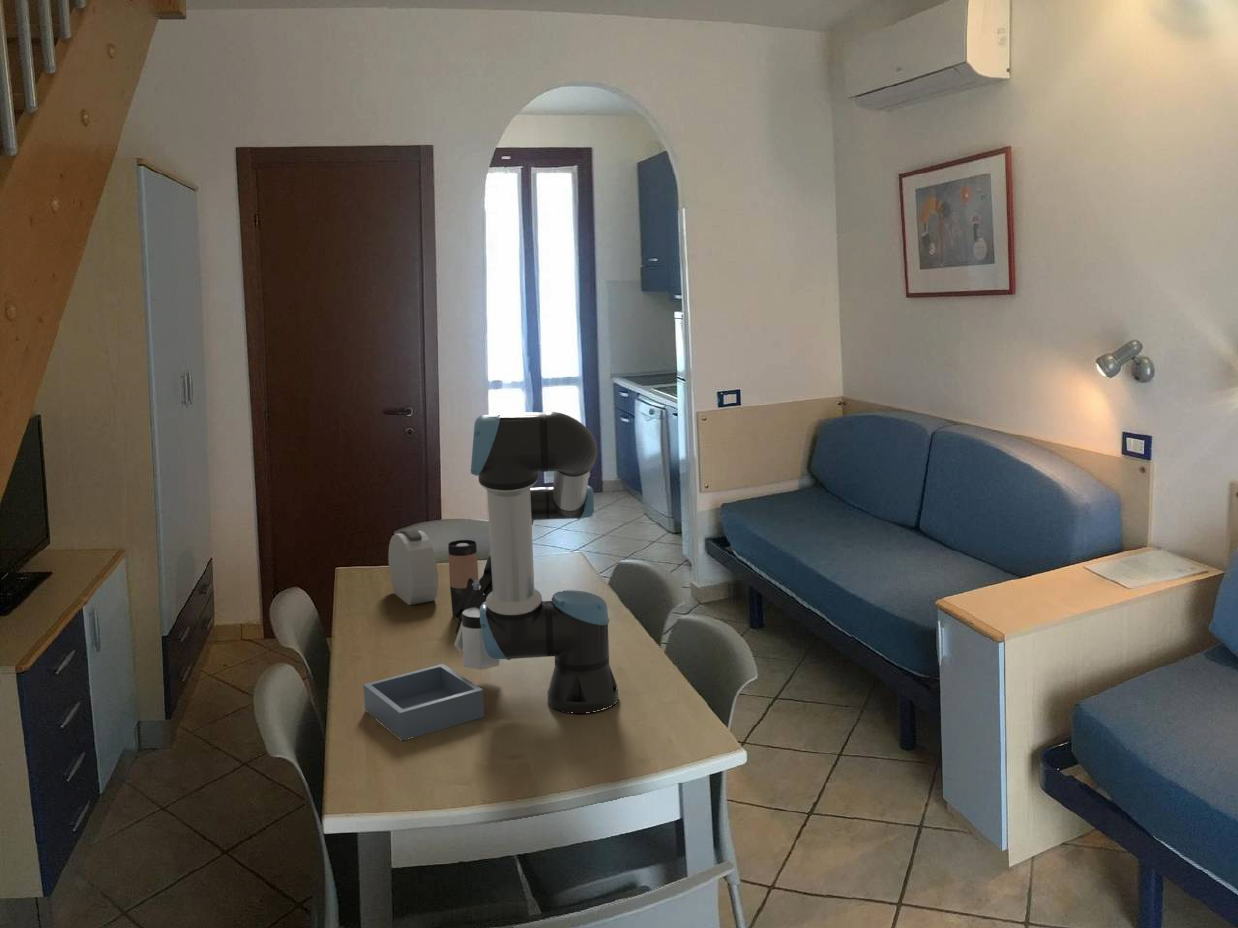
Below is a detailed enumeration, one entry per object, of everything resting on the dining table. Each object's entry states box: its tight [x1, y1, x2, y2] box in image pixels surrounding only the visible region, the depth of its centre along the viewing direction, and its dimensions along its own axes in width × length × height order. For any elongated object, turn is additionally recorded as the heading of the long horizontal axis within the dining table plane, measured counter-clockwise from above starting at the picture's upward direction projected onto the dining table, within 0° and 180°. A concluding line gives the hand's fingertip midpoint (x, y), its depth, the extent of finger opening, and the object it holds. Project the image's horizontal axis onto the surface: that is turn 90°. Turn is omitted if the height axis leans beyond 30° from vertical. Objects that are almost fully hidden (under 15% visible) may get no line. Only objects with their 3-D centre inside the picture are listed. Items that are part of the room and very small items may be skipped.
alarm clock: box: [387, 528, 439, 606], centre depth 292 cm, size 21×8×20 cm, turn 30°
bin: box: [363, 663, 485, 740], centre depth 214 cm, size 18×18×6 cm
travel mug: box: [447, 539, 480, 619], centre depth 276 cm, size 8×8×20 cm
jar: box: [462, 607, 501, 671], centre depth 229 cm, size 9×8×12 cm
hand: (475, 650), depth 226 cm, fingers closed on jar, 8 cm apart
